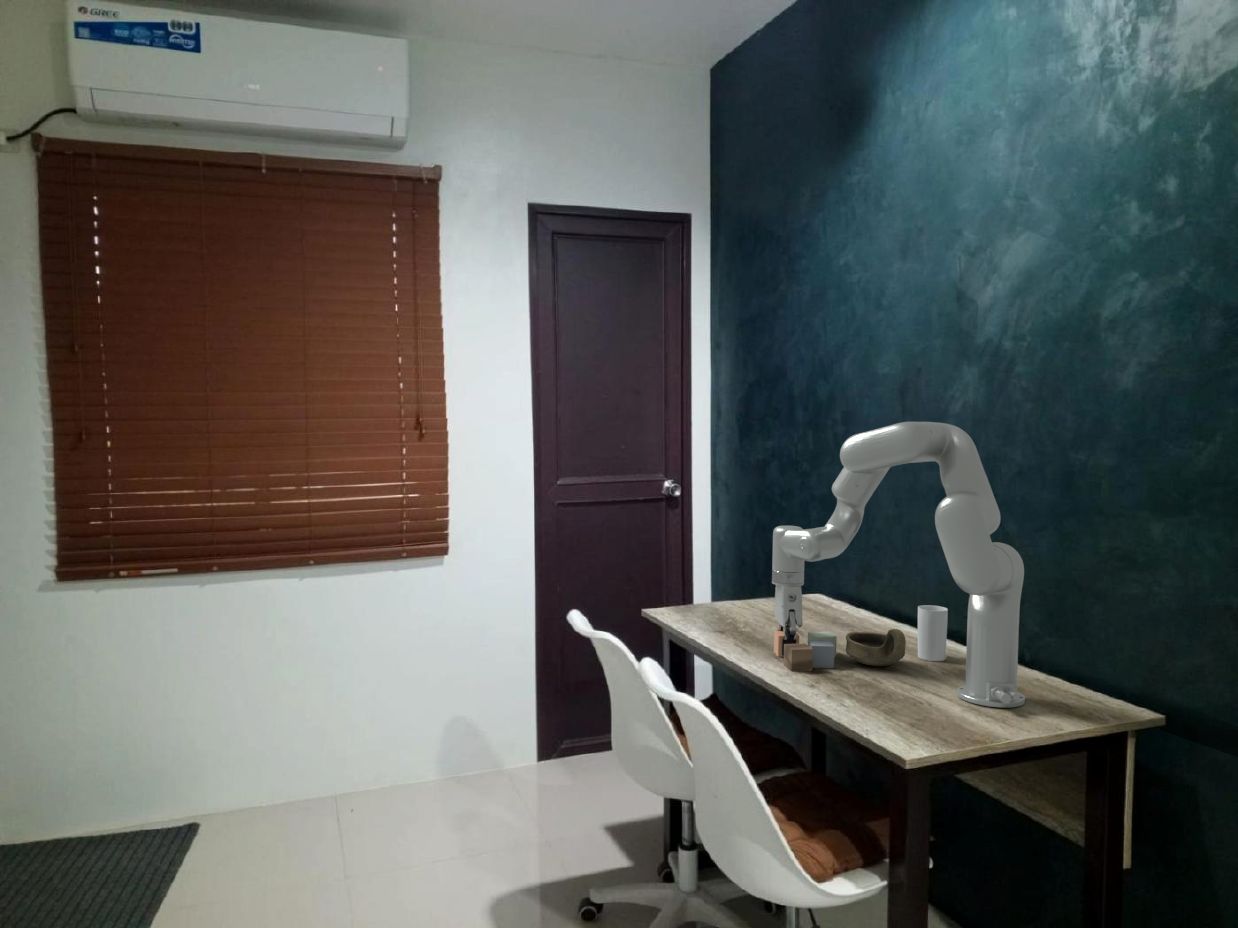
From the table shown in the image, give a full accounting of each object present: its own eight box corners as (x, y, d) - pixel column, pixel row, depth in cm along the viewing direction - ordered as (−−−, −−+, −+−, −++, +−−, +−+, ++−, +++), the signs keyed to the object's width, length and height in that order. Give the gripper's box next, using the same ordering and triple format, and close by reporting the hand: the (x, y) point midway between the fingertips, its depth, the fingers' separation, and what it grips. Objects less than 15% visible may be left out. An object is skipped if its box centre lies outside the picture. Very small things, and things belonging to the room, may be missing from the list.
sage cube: (836, 656, 206) (836, 636, 206) (816, 657, 205) (817, 637, 205) (826, 651, 211) (826, 631, 211) (807, 652, 210) (807, 632, 210)
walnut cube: (812, 670, 194) (813, 648, 193) (791, 671, 193) (791, 649, 193) (804, 664, 199) (804, 643, 198) (783, 665, 198) (784, 643, 198)
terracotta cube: (798, 656, 205) (799, 636, 205) (778, 656, 205) (778, 635, 205) (794, 651, 210) (794, 631, 210) (773, 651, 210) (774, 630, 210)
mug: (951, 661, 203) (953, 610, 203) (924, 662, 202) (926, 611, 202) (931, 650, 213) (932, 602, 213) (905, 651, 212) (906, 602, 212)
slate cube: (833, 668, 196) (834, 646, 196) (811, 667, 197) (812, 645, 196) (830, 662, 201) (830, 641, 201) (808, 661, 202) (808, 640, 201)
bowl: (883, 654, 208) (885, 613, 208) (927, 675, 191) (928, 630, 191) (832, 657, 205) (833, 616, 205) (872, 678, 188) (873, 633, 188)
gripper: (812, 584, 199) (810, 662, 199) (795, 571, 216) (793, 644, 216) (779, 583, 198) (778, 662, 199) (765, 571, 215) (763, 643, 216)
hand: (786, 651), depth 208 cm, fingers closed on terracotta cube, 5 cm apart
